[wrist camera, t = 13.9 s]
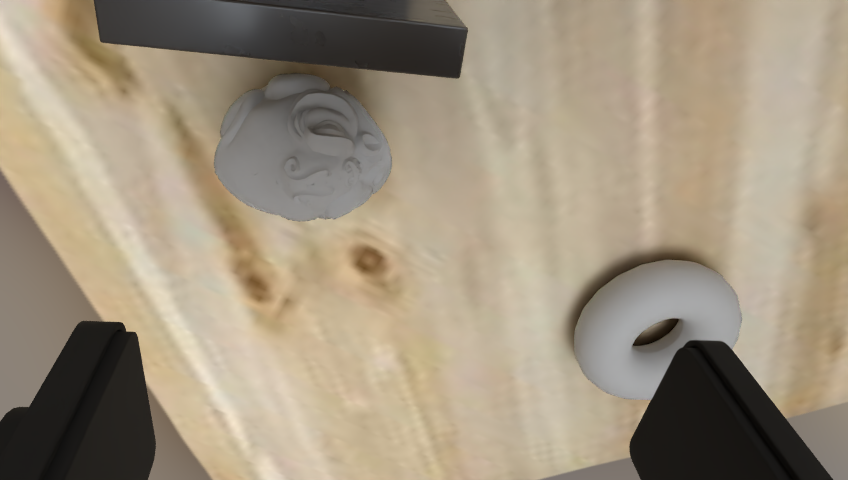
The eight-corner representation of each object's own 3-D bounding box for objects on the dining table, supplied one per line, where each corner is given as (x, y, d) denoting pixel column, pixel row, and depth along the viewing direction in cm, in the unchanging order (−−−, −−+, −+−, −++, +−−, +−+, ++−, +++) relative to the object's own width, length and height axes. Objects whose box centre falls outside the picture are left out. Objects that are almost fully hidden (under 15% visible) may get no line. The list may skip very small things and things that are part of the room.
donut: (651, 218, 32) (533, 337, 36) (682, 252, 29) (550, 377, 33) (751, 292, 36) (636, 392, 40) (787, 328, 33) (660, 432, 37)
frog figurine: (393, 163, 28) (407, 240, 22) (251, 189, 28) (228, 273, 22) (369, 37, 25) (378, 89, 19) (208, 65, 25) (167, 126, 19)
